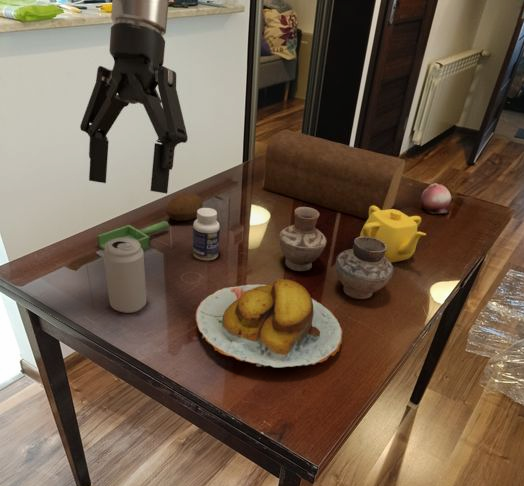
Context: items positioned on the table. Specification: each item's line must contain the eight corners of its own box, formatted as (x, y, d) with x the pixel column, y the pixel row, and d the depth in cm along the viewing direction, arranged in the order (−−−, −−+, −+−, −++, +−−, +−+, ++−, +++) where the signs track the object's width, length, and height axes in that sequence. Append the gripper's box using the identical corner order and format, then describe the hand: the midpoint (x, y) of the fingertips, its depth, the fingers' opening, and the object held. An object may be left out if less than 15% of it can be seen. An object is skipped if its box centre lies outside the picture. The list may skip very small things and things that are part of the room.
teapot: (419, 249, 114) (433, 208, 108) (412, 275, 105) (427, 231, 98) (362, 235, 117) (373, 194, 111) (351, 258, 108) (361, 215, 101)
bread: (282, 174, 142) (288, 123, 133) (393, 206, 132) (409, 153, 123) (260, 189, 132) (266, 135, 123) (379, 225, 122) (395, 169, 113)
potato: (209, 217, 116) (210, 192, 112) (182, 230, 110) (182, 204, 106) (188, 208, 119) (188, 183, 115) (161, 221, 112) (160, 195, 108)
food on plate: (171, 311, 87) (170, 279, 82) (283, 279, 98) (287, 251, 94) (247, 402, 71) (250, 370, 67) (368, 352, 83) (378, 322, 79)
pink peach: (427, 202, 137) (435, 177, 132) (451, 212, 133) (461, 186, 129) (412, 208, 132) (421, 183, 128) (437, 219, 129) (447, 193, 124)
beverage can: (127, 290, 90) (121, 231, 82) (154, 303, 88) (150, 244, 80) (102, 306, 86) (93, 245, 78) (129, 320, 84) (123, 259, 76)
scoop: (119, 260, 98) (118, 248, 96) (98, 246, 101) (97, 235, 99) (178, 236, 108) (178, 226, 106) (157, 225, 111) (157, 214, 109)
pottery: (292, 247, 109) (300, 196, 101) (394, 291, 99) (411, 238, 92) (263, 266, 102) (270, 212, 94) (370, 315, 92) (386, 260, 84)
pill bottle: (208, 264, 100) (210, 220, 94) (187, 255, 102) (187, 212, 95) (223, 254, 104) (225, 211, 97) (202, 246, 105) (203, 203, 99)
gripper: (224, 38, 65) (204, 200, 71) (101, 43, 77) (93, 181, 83) (187, 14, 59) (169, 194, 65) (60, 24, 71) (54, 174, 77)
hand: (126, 187), depth 74 cm, fingers open, 13 cm apart
